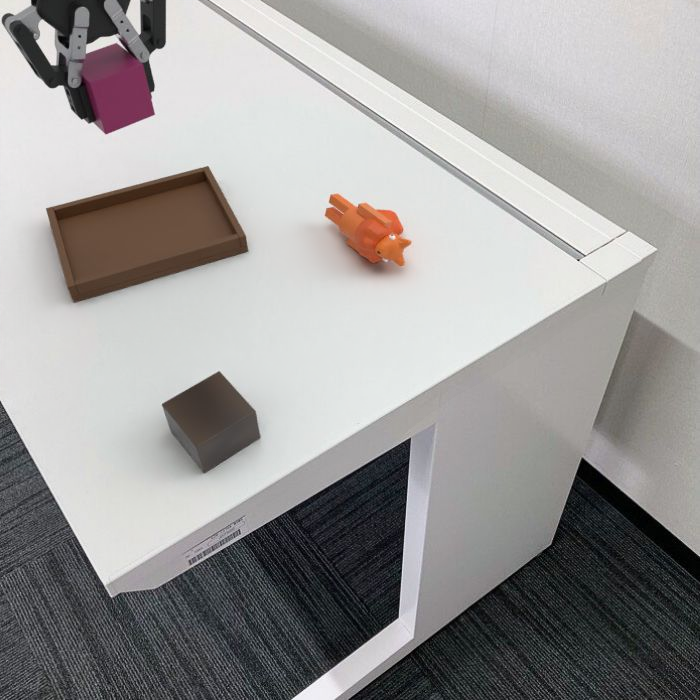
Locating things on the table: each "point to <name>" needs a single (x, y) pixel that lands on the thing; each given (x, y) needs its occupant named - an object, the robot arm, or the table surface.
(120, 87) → the mulberry block
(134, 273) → the tray
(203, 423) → the dark brown block
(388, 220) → the orange toy animal
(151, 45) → the robot arm
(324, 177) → the table surface
